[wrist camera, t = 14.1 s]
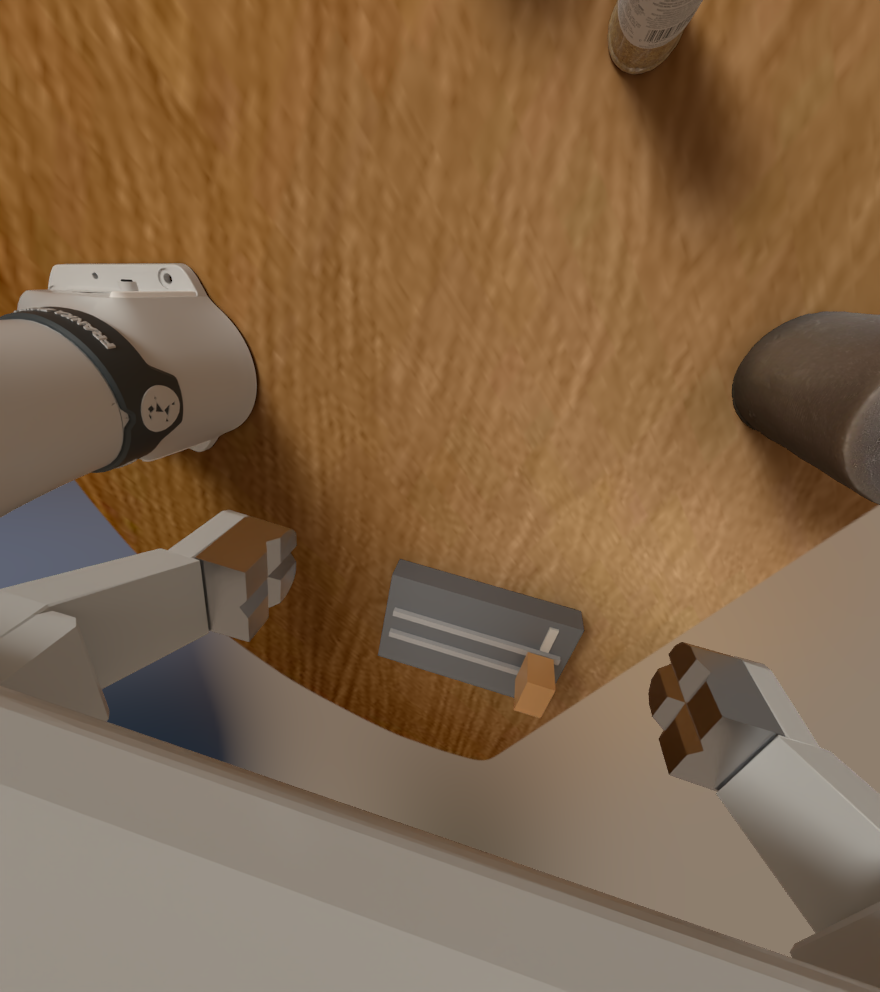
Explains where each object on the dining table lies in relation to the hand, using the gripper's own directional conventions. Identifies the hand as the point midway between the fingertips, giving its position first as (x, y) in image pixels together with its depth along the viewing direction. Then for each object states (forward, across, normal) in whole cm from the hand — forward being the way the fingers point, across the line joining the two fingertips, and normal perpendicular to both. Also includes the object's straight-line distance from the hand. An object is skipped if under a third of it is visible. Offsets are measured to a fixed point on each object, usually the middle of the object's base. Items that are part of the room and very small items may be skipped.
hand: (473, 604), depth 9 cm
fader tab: (+28, -11, +32) cm, 44 cm away
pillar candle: (+31, -22, -4) cm, 38 cm away
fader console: (+31, -4, +32) cm, 45 cm away
